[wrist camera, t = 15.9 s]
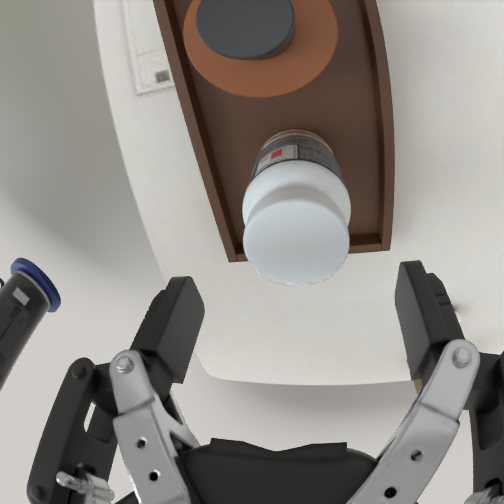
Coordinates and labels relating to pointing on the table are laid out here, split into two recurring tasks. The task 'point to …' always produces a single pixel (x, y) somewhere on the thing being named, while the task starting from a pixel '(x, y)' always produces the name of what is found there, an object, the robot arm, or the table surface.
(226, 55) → the amber bottle
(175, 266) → the table surface
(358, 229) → the tray
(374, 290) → the table surface
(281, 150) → the pill bottle
